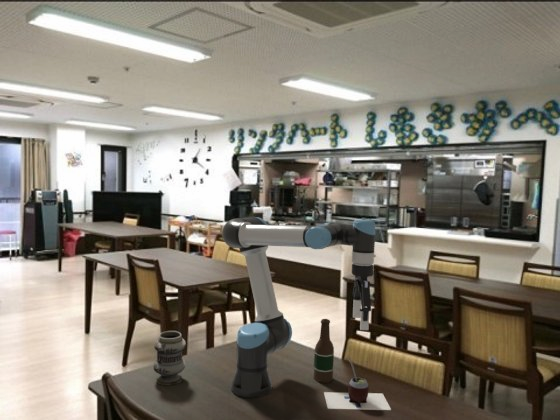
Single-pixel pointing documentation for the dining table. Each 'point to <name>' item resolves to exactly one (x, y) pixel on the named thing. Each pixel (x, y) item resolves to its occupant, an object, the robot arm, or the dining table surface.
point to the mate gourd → (358, 389)
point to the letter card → (342, 402)
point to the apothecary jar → (169, 357)
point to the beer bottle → (324, 355)
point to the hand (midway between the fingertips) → (360, 323)
